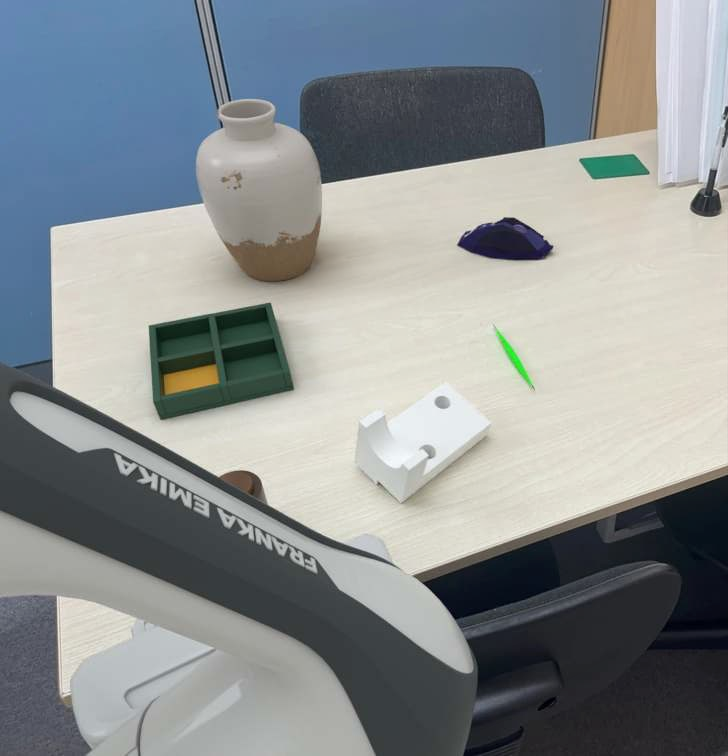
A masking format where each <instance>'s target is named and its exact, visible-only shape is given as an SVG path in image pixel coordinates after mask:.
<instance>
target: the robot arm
mask: <svg viewBox="0 0 728 756" xmlns="http://www.w3.org/2000/svg"><path fill="white" fill-rule="evenodd" d="M219 477H220V476H219V475H218V476H217V475H216V474H214V473H212V472H210V471H209V470H207V469H205V468H203V467H202V466H199V465H198V464H196V463H195V462H193V461H192V460H189V459H188V458H186V457H184V456H182V455H181V454H178V453H177V452H175V451H173V450H171V449H169V448H168V447H166V446H165V445H163V444H161V443H159V442H157V441H156V440H154V439H152V438H150V437H148V436H146V435H144V434H142V433H141V432H139V431H137V430H136V429H134V428H132V427H130V426H128V425H126V424H124V423H123V422H121V421H119V420H117V419H115V418H113V417H111V416H110V415H108V414H106V413H104V412H102V411H100V410H98V409H97V408H94V407H93V406H91V405H90V404H87V403H85V402H84V401H82V400H80V399H78V398H75V397H74V396H72V395H71V394H68V393H66V392H64V391H62V390H60V389H58V388H56V387H55V386H52V385H50V384H49V383H46V382H44V381H42V380H40V379H38V378H36V377H34V376H32V375H30V374H28V373H26V372H24V371H21V370H19V369H17V368H15V367H13V366H11V365H8V364H6V363H4V362H1V361H0V599H1V598H12V597H27V596H42V597H43V596H44V597H45V596H46V597H48V596H49V597H63V598H69V599H77V600H84V601H87V602H90V603H95V604H98V605H100V606H104V607H107V608H109V609H112V610H114V611H116V612H120V613H122V614H124V615H127V616H130V617H132V618H135V619H136V620H135V622H134V623H133V626H132V627H131V629H130V630H131V637H129V638H128V639H126V640H124V641H122V642H119V643H117V644H115V645H112V646H111V647H108V648H105V649H104V650H101V651H99V652H96V653H94V654H92V655H89V656H88V657H86V658H85V659H83V660H82V662H80V664H79V665H78V666H77V668H76V669H75V671H74V672H73V674H71V676H70V681H69V691H70V698H71V704H72V705H71V706H72V709H73V714H74V718H75V721H76V725H77V727H78V731H79V733H80V736H81V737H82V738H83V739H84V741H85V742H86V744H87V745H88V746H89V747H90V749H91V750H90V751H89V752H88V753H86V755H85V756H464V753H465V751H466V750H465V749H466V746H467V742H468V739H469V735H470V731H471V727H472V722H473V717H474V712H475V705H476V698H477V690H478V680H479V679H478V677H479V676H478V675H479V674H478V673H479V667H478V662H477V659H476V657H475V655H474V652H473V650H472V648H471V647H470V644H469V642H468V641H467V639H466V637H465V635H464V633H463V631H462V629H461V628H460V626H459V625H458V623H457V621H456V620H455V618H454V617H453V615H452V614H451V612H450V611H449V610H448V608H447V607H446V606H445V605H444V603H443V602H442V601H441V599H439V598H438V597H437V596H436V595H435V594H434V592H432V590H430V589H429V587H427V586H426V585H425V584H424V583H422V582H421V581H419V579H418V578H416V577H414V576H413V575H411V574H409V573H408V572H406V571H404V570H403V569H402V568H400V567H399V566H397V565H396V564H394V561H393V559H392V556H391V554H390V551H389V550H388V548H387V545H386V543H385V541H384V540H383V538H381V537H380V536H377V535H375V534H374V535H373V534H369V533H363V534H360V535H358V536H356V537H354V538H352V539H349V540H347V541H345V542H340V541H338V540H335V539H333V538H330V537H328V536H326V535H324V534H322V533H320V532H318V531H316V530H314V529H312V528H311V527H309V526H307V525H305V524H303V523H302V522H300V521H298V520H296V519H294V518H292V517H290V516H289V515H287V514H285V513H283V512H281V511H279V510H278V509H276V508H275V507H273V506H271V505H269V504H268V505H267V504H266V503H264V502H262V501H260V500H259V499H257V498H255V497H253V496H251V495H250V494H248V493H246V492H244V491H243V490H241V489H239V488H237V487H235V486H234V485H232V484H230V483H228V482H227V481H225V480H223V479H221V478H219Z"/></svg>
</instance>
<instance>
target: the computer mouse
mask: <svg viewBox="0 0 728 756" xmlns="http://www.w3.org/2000/svg"><path fill="white" fill-rule="evenodd" d="M456 246H458V247H460V248H461V249H464V250H466V251H468V252H469V253H472V254H476V255H479V256H481V257H482V256H483V257H486V258H490V259H497V260H509V261H538V260H540V259H543V258H545V257H546V256H547V255H548V254H549V252H550V251H553V249H554V245H553V244H550V243H549V241H548V239H545V238H544V235H543V234H541V233H540V232H539V231H537V230H535V229H534V228H532V227H531V226H530V225H528V224H526V223H524V222H523V221H521V220H520V219H518V218H516V217H513V216H512V217H507V216H504V217H502V219H500V220H497V221H495V222H492V221H491V222H487V223H482V224H480V225H478V226H476V227H475V228H474V229H471V230H466V231H465V232H464V233H463V234H462V236H461V237H460V239H459V241H458V242H457V244H456Z"/></svg>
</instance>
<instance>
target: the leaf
mask: <svg viewBox="0 0 728 756" xmlns="http://www.w3.org/2000/svg"><path fill="white" fill-rule="evenodd" d="M492 325H493V327H494V330H495V331H496V333H497V336H498V337H499V339H500V341H501V343H502V345H503V347H504V349H505V351H506V352H507V355H508V356H509V358H510V359H511V361H512V362H513V364H514V365H515V367H516V368H517V369H518V370H519V372H520V373H521V375H522V376H523V377H524V378H525V380H526V381H527V382H528V383H529V385H530V386H531V387H532V389H533V390H534V391H535V390H536V389H535V387H534V385H533V383H532V381H531V379H530V377H529V375H528V373H527V371H526V369H525V367H524V365H523V363H522V361H521V360H520V358H519V356H518V354H517V353H516V351H515V350H514V349H513V347H512V346H511V344H509V342H508V341H507V339H506V338H505V337H504V336H503V335H502V333H501V332H500V330H499V329H498V328H497V327H496V326H495V324H493V323H492Z"/></svg>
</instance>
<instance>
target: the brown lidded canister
mask: <svg viewBox="0 0 728 756" xmlns="http://www.w3.org/2000/svg"><path fill="white" fill-rule="evenodd" d="M218 477H219V478H221V479H223V480H225V481H227V482H228V483H230V484H232V485H234V486H235V487H237V488H239V489H241V490H243V491H244V492H246V493H248V494H250V495H251V496H253V497H255V498H257V499H259V500H260V501H262V502H264V503H266V504H267V505H269V503H268V500H267V496H266V492H265V490H264V489H265V488H264V485H263V482H262V480H261V478H260V477H259V476H258V475H257V474H256V473H254V472H252V471H249V470H243V469H242V470H241V469H239V470H232V471H228V472H226V473H224V474H222V475H219V476H218Z"/></svg>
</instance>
